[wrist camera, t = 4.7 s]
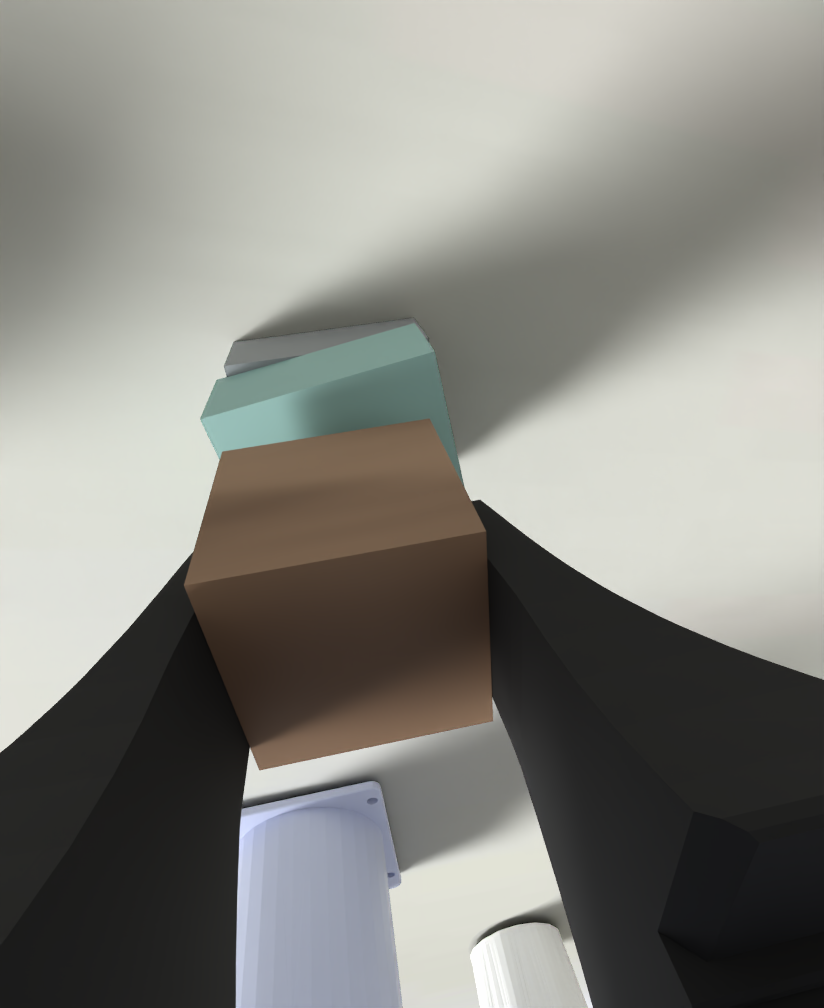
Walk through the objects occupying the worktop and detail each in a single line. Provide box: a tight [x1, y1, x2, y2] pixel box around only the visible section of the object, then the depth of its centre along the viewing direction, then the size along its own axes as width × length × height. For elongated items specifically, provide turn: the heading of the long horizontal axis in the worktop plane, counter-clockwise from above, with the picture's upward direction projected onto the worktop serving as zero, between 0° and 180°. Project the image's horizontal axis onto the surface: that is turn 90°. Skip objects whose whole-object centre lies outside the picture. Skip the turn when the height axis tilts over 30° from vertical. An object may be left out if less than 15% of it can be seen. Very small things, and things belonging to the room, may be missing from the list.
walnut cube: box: [184, 418, 493, 770], centre depth 10 cm, size 4×4×4 cm
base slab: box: [224, 318, 429, 377], centre depth 16 cm, size 5×5×2 cm
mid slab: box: [200, 323, 464, 486], centre depth 14 cm, size 5×5×2 cm
